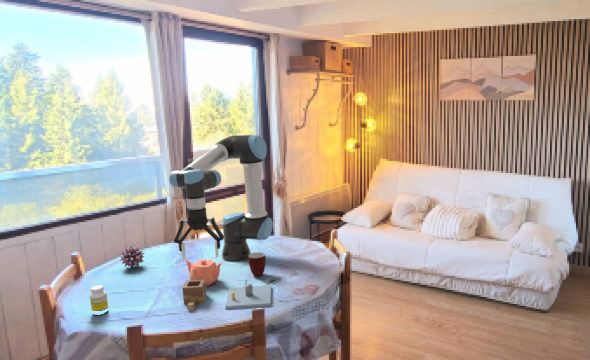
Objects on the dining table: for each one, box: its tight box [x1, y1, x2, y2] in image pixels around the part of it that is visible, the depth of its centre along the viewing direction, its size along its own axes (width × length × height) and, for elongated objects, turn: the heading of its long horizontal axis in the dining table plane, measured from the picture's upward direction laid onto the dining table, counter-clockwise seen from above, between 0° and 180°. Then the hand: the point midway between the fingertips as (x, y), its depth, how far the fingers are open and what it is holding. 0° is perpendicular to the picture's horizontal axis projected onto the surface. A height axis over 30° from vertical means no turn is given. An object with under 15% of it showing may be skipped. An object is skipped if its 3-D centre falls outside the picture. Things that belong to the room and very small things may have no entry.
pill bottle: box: [89, 284, 109, 311], centre depth 182 cm, size 6×6×11 cm
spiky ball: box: [120, 244, 145, 268], centre depth 231 cm, size 12×12×12 cm
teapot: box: [183, 259, 224, 288], centre depth 207 cm, size 14×14×11 cm
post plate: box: [225, 283, 272, 310], centre depth 189 cm, size 18×18×6 cm
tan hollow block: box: [182, 279, 207, 311], centre depth 187 cm, size 14×8×7 cm, turn 2°
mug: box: [247, 251, 267, 278], centre depth 211 cm, size 11×8×10 cm
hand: (200, 257), depth 188 cm, fingers open, 13 cm apart
